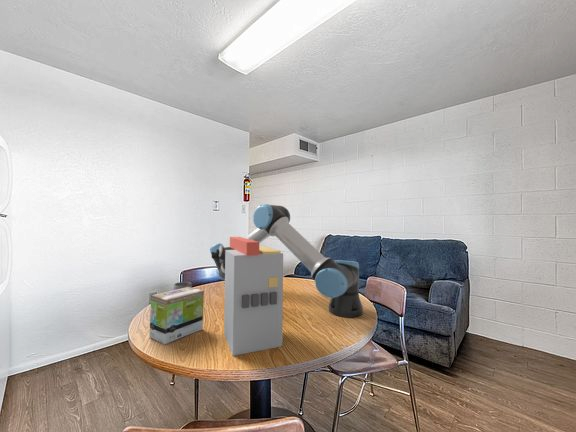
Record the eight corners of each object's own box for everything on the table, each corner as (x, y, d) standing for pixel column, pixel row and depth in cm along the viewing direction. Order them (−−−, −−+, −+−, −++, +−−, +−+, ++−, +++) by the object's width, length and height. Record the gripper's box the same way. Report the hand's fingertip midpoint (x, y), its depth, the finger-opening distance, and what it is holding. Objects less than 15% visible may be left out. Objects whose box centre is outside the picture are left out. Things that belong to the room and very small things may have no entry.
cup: (195, 305, 122) (195, 284, 122) (173, 309, 117) (174, 287, 117) (190, 300, 130) (190, 280, 130) (170, 303, 124) (170, 282, 125)
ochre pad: (249, 249, 96) (249, 247, 96) (265, 248, 98) (265, 246, 98) (262, 254, 81) (262, 251, 81) (280, 253, 83) (280, 251, 83)
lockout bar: (229, 246, 104) (229, 236, 104) (239, 246, 105) (239, 236, 105) (246, 255, 78) (246, 242, 78) (259, 255, 79) (259, 242, 80)
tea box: (166, 345, 83) (167, 299, 83) (148, 338, 88) (149, 294, 88) (203, 329, 95) (204, 289, 96) (186, 323, 101) (187, 285, 101)
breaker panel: (224, 334, 91) (225, 250, 92) (266, 327, 98) (267, 248, 98) (233, 357, 76) (235, 256, 76) (283, 347, 82) (284, 253, 83)
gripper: (254, 270, 132) (265, 254, 115) (203, 273, 122) (207, 256, 106) (253, 256, 136) (263, 239, 119) (203, 258, 126) (207, 239, 109)
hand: (237, 247), depth 112 cm, fingers open, 13 cm apart
